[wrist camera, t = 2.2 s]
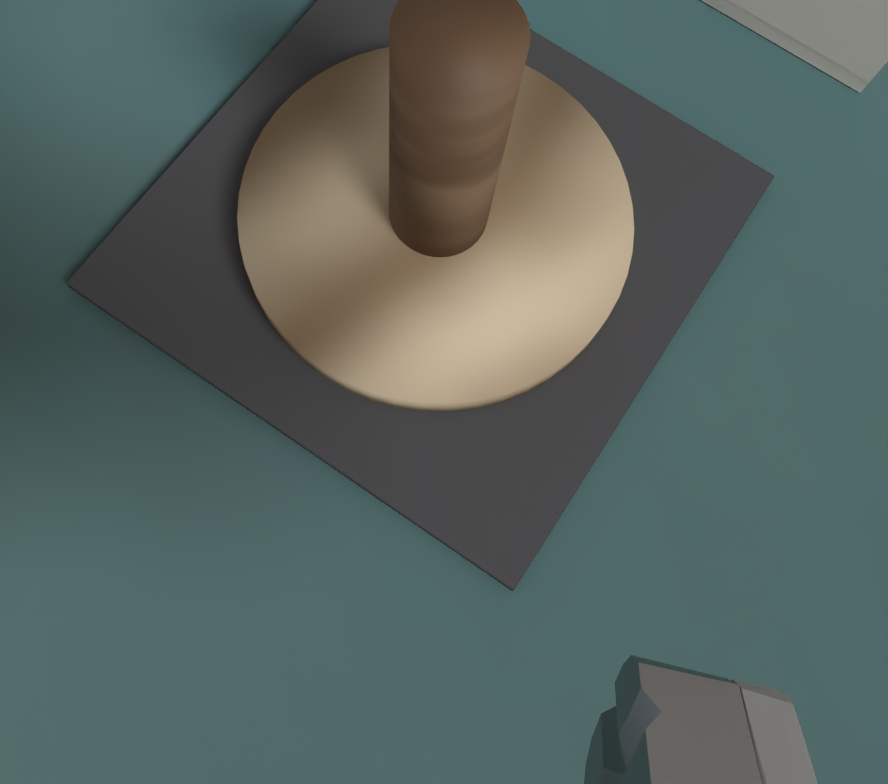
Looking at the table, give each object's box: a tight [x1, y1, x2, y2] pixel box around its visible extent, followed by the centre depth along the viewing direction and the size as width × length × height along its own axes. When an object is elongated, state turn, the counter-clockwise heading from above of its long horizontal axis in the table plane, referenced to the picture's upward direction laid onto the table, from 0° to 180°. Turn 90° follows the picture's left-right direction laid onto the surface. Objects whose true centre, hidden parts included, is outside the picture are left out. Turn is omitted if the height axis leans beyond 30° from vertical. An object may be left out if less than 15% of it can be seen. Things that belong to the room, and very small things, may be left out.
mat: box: [66, 0, 774, 591], centre depth 27 cm, size 16×16×1 cm
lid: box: [237, 0, 634, 412], centre depth 22 cm, size 12×12×9 cm
